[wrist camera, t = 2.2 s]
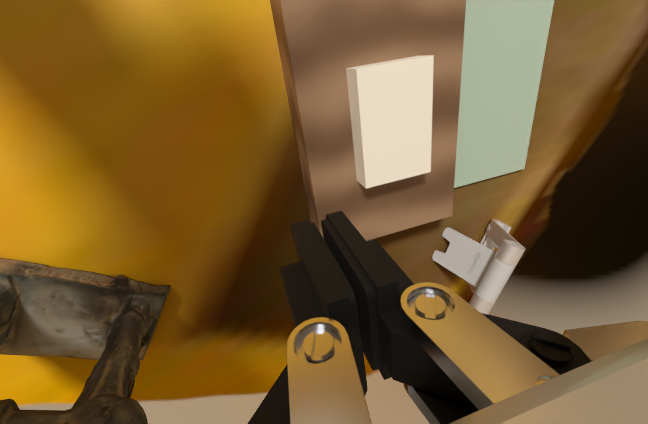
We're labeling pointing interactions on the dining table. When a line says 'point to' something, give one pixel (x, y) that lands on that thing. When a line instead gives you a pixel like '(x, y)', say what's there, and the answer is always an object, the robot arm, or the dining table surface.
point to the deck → (334, 109)
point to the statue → (79, 335)
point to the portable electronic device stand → (482, 261)
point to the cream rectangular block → (391, 119)
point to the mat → (499, 85)
